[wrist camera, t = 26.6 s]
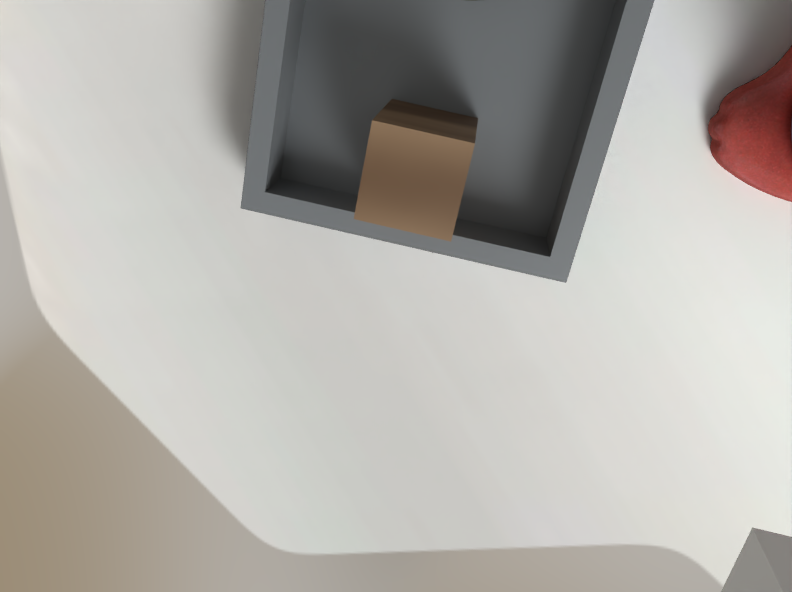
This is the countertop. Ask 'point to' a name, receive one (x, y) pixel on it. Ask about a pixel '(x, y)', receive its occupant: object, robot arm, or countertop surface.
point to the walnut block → (416, 169)
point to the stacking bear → (758, 131)
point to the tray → (450, 91)
